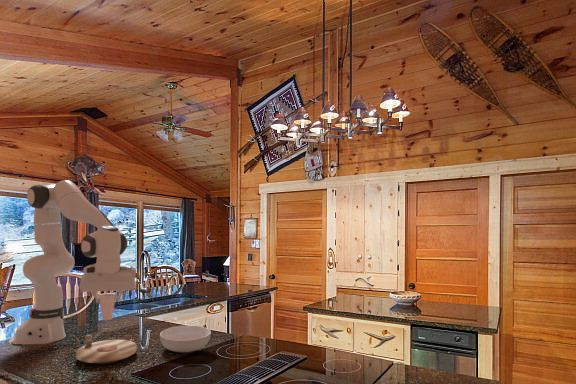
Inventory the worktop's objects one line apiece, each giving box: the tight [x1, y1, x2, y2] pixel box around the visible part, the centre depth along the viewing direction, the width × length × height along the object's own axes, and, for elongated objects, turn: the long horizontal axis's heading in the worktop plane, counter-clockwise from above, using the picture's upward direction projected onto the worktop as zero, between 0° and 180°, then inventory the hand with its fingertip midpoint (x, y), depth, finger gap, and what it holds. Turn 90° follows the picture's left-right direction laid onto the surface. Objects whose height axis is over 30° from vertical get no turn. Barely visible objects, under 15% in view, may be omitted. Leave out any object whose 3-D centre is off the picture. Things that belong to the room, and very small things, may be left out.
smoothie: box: [98, 291, 117, 321], centre depth 170 cm, size 6×6×14 cm
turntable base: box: [85, 358, 127, 366], centre depth 169 cm, size 16×16×2 cm
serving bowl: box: [159, 325, 212, 353], centre depth 180 cm, size 21×21×7 cm
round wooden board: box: [75, 334, 138, 364], centre depth 169 cm, size 22×22×6 cm
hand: (107, 302), depth 170 cm, fingers closed on smoothie, 6 cm apart
